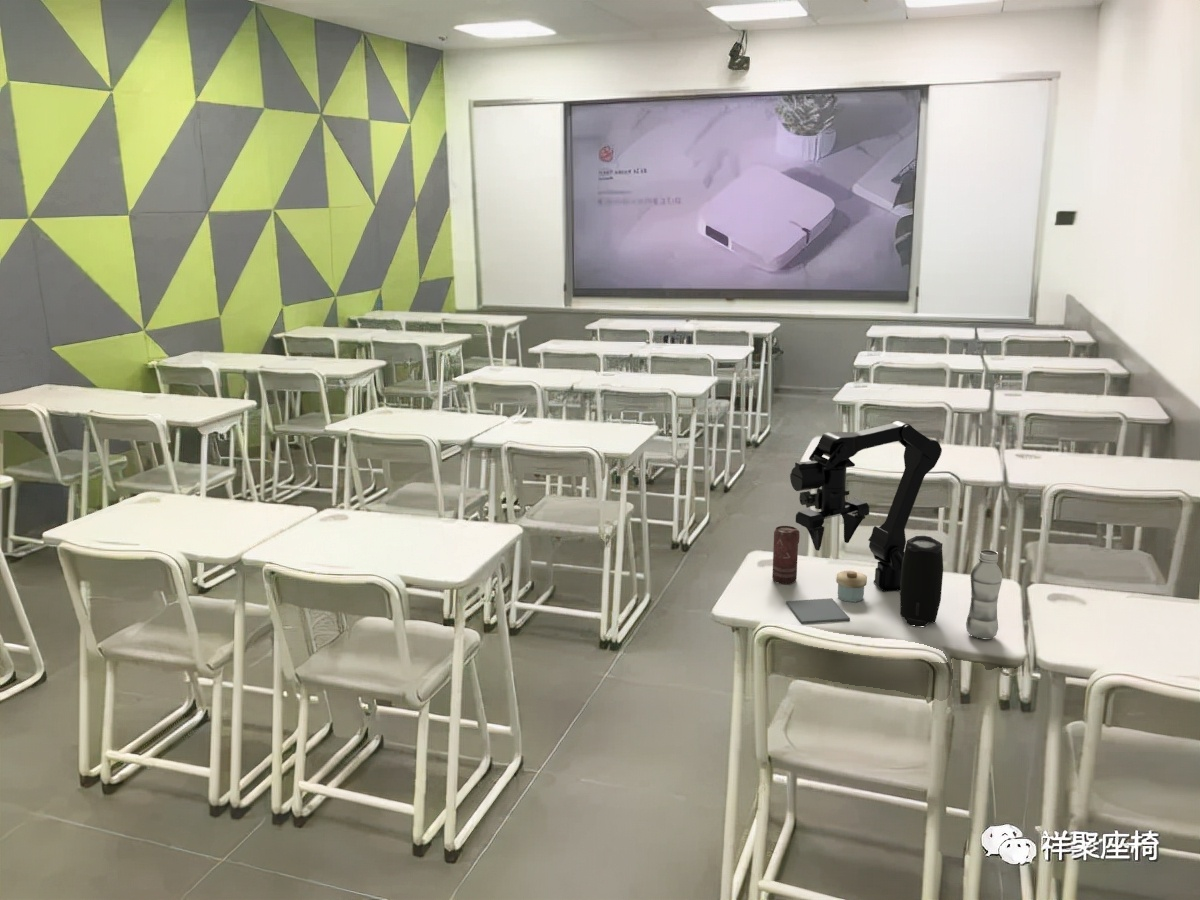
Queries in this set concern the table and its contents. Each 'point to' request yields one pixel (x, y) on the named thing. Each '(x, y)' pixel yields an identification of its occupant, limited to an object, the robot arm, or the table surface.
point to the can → (785, 554)
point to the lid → (851, 579)
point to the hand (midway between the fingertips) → (831, 546)
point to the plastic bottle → (984, 596)
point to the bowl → (850, 594)
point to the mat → (817, 611)
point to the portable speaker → (921, 580)
